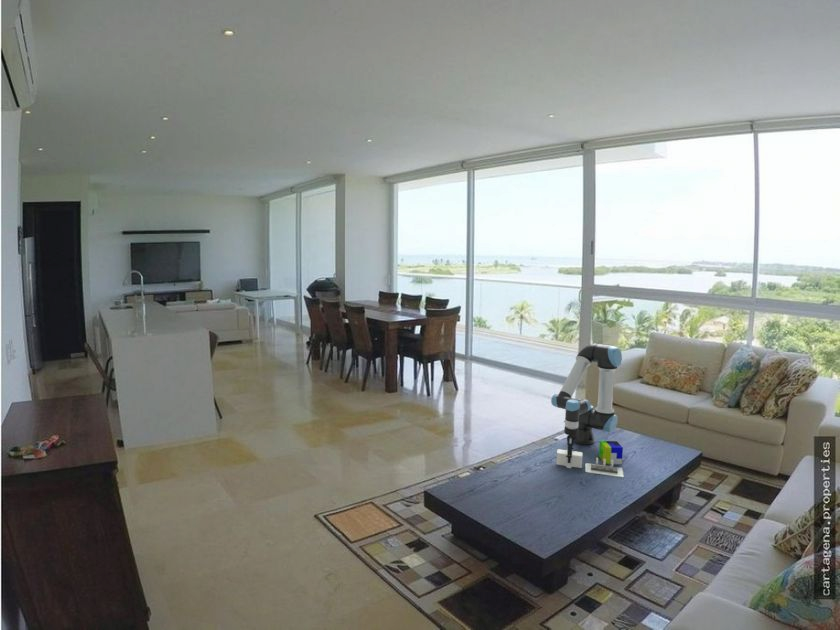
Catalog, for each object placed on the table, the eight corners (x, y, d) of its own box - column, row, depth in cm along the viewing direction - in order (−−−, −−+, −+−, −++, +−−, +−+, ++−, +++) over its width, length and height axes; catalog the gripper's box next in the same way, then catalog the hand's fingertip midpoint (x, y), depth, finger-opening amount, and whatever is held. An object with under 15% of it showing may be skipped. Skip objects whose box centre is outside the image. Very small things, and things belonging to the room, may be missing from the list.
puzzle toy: (621, 464, 304) (622, 447, 302) (604, 463, 304) (605, 447, 302) (615, 457, 313) (616, 441, 312) (598, 456, 314) (600, 440, 312)
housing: (556, 464, 301) (557, 453, 300) (556, 460, 307) (557, 449, 306) (581, 468, 297) (582, 456, 296) (581, 463, 303) (582, 452, 302)
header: (585, 463, 303) (586, 452, 302) (622, 468, 297) (622, 457, 296) (585, 472, 292) (586, 461, 291) (623, 477, 286) (624, 466, 285)
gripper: (565, 419, 311) (562, 455, 314) (563, 433, 289) (561, 471, 292) (578, 421, 308) (576, 457, 312) (578, 434, 287) (575, 473, 290)
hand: (568, 463), depth 302 cm, fingers open, 10 cm apart
